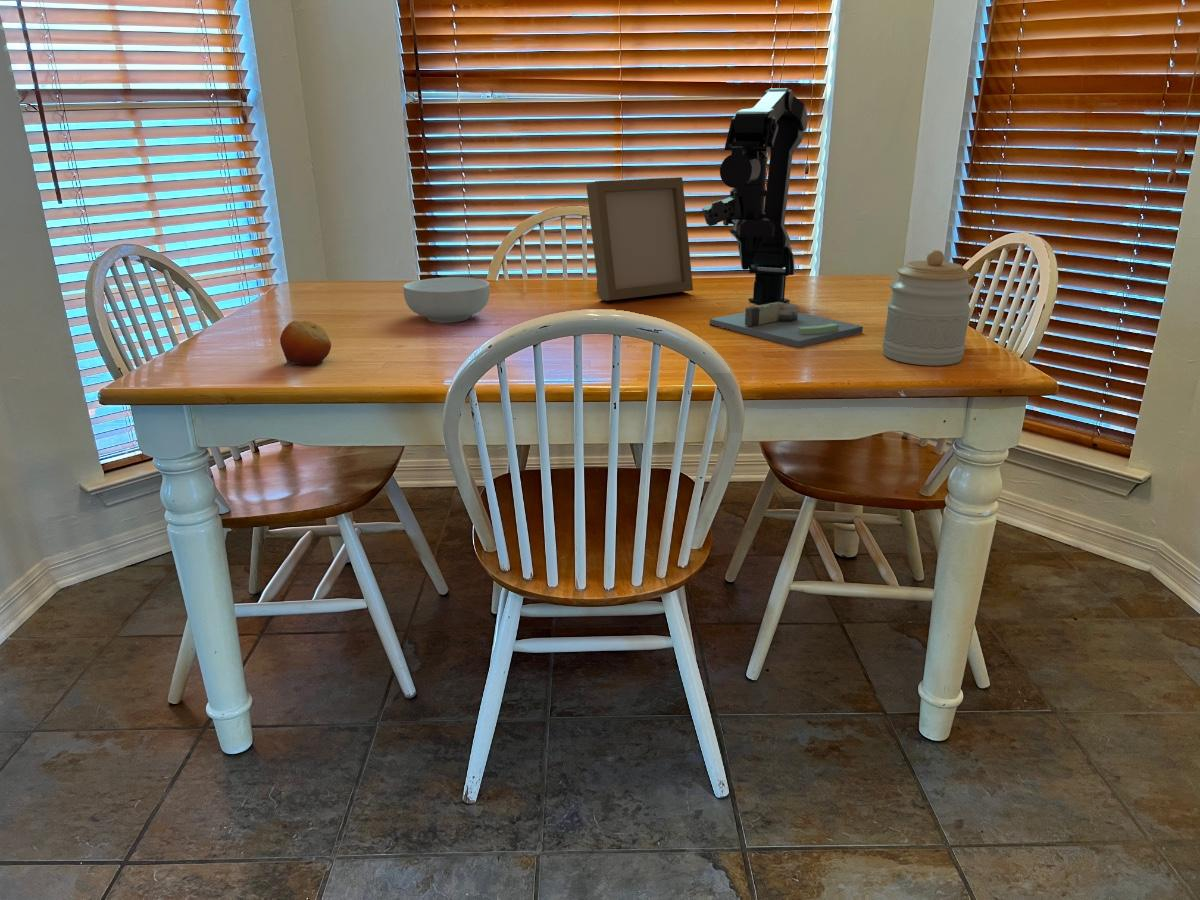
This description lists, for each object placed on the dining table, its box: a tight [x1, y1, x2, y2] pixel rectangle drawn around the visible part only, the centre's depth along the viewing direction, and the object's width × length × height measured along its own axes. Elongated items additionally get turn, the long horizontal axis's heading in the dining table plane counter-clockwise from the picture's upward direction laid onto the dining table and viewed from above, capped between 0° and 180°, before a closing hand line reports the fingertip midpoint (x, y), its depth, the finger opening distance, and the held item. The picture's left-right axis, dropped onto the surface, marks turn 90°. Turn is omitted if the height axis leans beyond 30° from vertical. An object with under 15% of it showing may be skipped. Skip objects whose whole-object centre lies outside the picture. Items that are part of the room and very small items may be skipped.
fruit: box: [279, 320, 332, 367], centre depth 141 cm, size 8×8×8 cm
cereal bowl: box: [402, 276, 491, 324], centre depth 172 cm, size 17×17×7 cm
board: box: [709, 311, 864, 349], centre depth 163 cm, size 18×22×2 cm
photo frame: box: [586, 176, 694, 302], centre depth 191 cm, size 15×22×25 cm
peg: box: [745, 302, 799, 326], centre depth 163 cm, size 12×5×3 cm, turn 127°
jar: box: [882, 249, 975, 367], centre depth 142 cm, size 13×13×18 cm
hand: (745, 269), depth 164 cm, fingers closed
